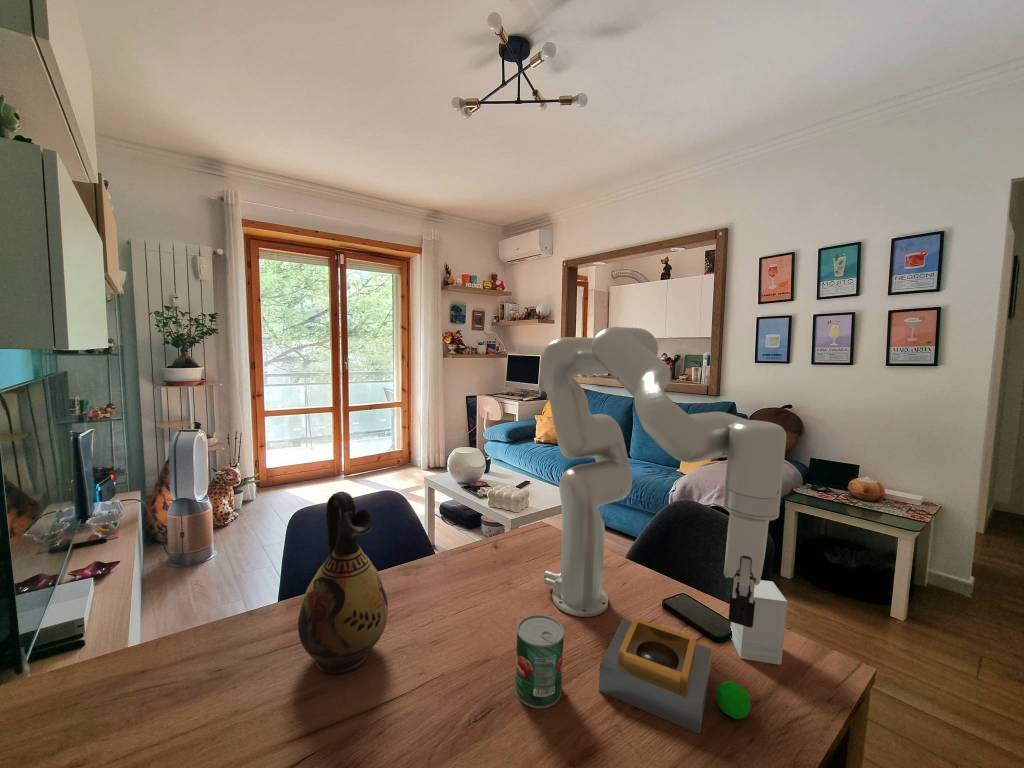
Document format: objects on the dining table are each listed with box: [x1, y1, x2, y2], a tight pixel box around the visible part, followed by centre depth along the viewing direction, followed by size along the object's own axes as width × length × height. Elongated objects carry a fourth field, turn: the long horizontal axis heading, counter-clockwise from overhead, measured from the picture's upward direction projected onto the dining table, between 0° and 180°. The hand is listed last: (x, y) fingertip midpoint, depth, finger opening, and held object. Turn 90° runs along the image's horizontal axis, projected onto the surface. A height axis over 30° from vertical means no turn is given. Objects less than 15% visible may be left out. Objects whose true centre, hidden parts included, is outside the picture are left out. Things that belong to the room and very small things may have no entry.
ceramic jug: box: [297, 491, 389, 676], centre depth 81 cm, size 17×15×30 cm
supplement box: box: [730, 579, 788, 665], centre depth 86 cm, size 7×7×13 cm
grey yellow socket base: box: [598, 618, 712, 735], centre depth 78 cm, size 16×17×7 cm
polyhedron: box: [715, 680, 751, 720], centre depth 71 cm, size 5×5×5 cm
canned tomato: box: [514, 614, 565, 709], centre depth 75 cm, size 8×8×11 cm
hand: (741, 606), depth 70 cm, fingers open, 9 cm apart
